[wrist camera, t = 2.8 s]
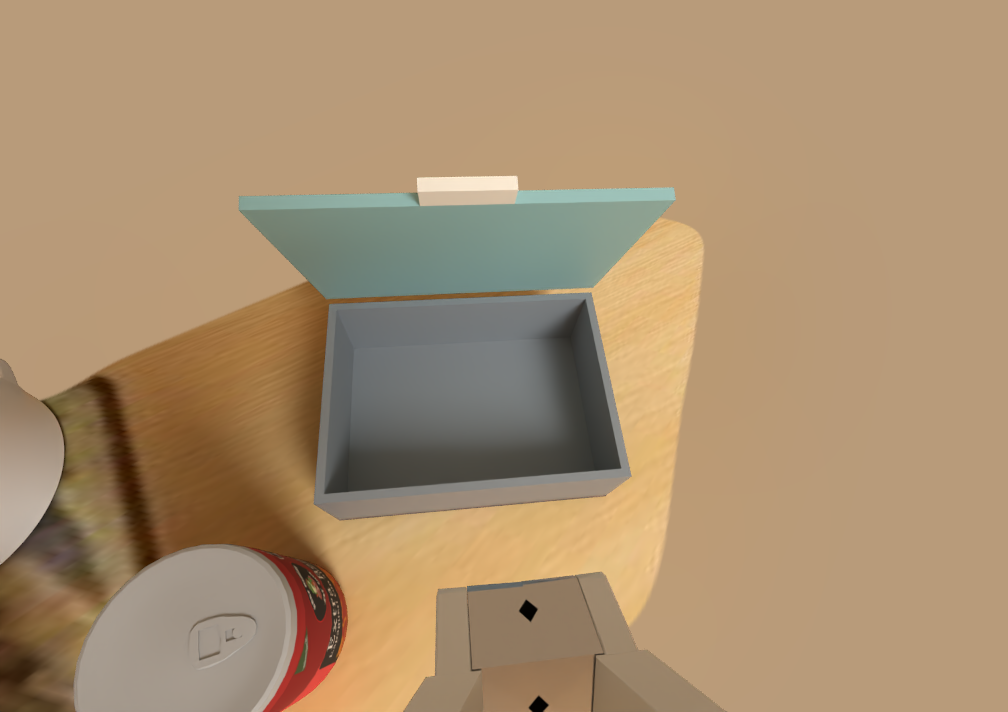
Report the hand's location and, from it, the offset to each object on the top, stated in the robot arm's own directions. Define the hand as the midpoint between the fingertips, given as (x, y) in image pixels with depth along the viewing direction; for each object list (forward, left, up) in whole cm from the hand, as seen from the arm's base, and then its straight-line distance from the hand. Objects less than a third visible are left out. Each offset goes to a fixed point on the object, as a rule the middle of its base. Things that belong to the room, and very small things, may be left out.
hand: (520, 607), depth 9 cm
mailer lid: (0, +17, -11) cm, 20 cm away
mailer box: (0, +12, -24) cm, 27 cm away
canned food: (-12, 0, -24) cm, 27 cm away
